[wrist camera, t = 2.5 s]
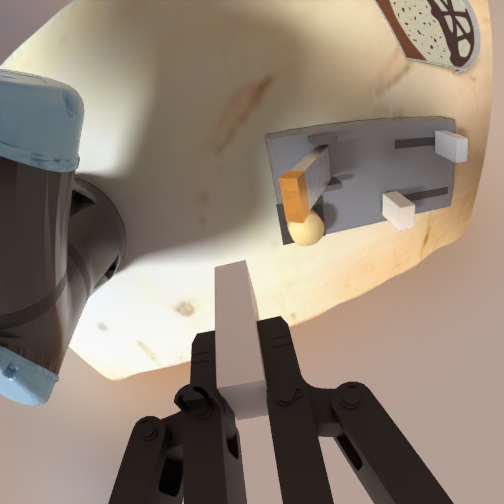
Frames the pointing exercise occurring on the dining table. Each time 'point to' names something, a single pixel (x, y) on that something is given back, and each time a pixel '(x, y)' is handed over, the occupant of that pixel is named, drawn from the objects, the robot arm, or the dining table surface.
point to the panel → (367, 168)
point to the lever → (305, 184)
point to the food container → (434, 31)
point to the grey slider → (451, 146)
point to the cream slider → (398, 210)
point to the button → (307, 230)
